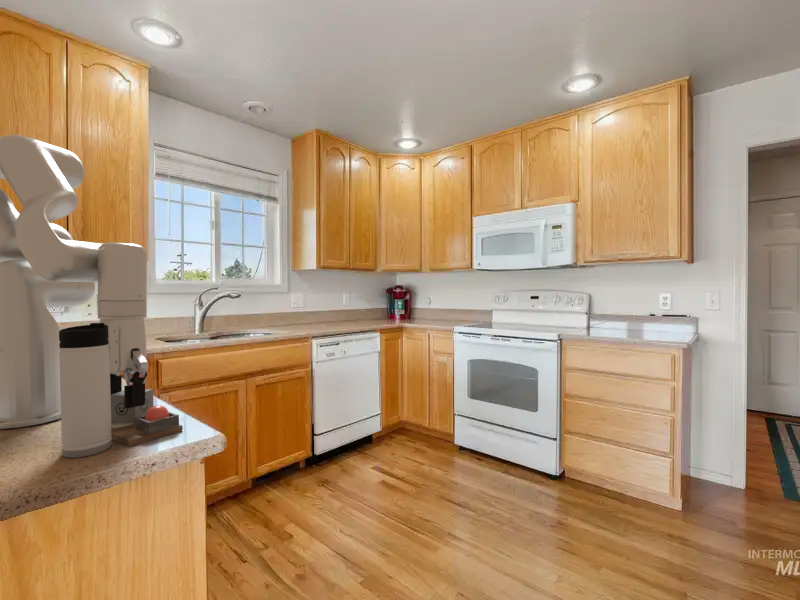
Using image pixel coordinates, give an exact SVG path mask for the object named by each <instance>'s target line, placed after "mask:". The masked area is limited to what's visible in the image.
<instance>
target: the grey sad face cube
mask: <svg viewBox="0 0 800 600" xmlns="http://www.w3.org/2000/svg"><path fill="white" fill-rule="evenodd" d="M153 406H154V389H153V388H149V389H148V388H145V404H144V405H142V406H137V407H132V408H125V407H124V390H122V391H121V392H118V393H115V394H112V395H111V423H135V418H136V417H141V416H145V415H146V412H147V411H148V410H149V409H150V408H151V407H153Z"/></svg>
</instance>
